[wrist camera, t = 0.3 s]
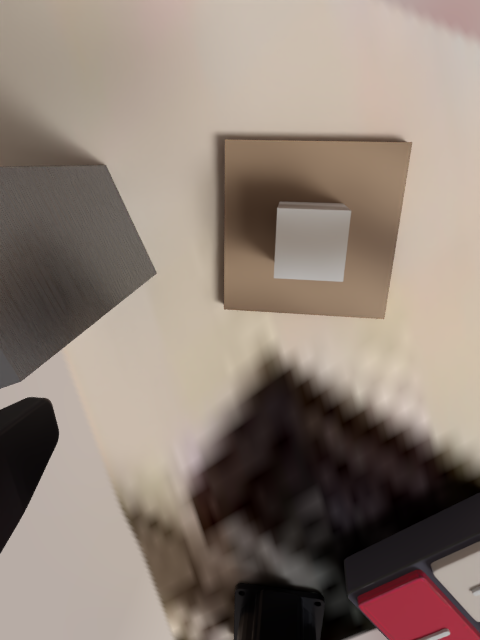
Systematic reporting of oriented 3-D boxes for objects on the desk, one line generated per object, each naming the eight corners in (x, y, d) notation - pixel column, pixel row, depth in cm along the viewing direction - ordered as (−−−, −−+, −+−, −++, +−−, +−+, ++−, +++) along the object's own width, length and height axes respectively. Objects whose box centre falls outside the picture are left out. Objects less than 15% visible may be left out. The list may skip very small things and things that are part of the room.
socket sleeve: (156, 273, 22) (20, 381, 11) (67, 307, 24) (-130, 433, 13) (105, 165, 21) (-114, 168, 10) (13, 209, 22) (-269, 256, 11)
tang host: (379, 311, 22) (397, 342, 18) (227, 302, 23) (213, 330, 19) (405, 143, 19) (433, 138, 15) (228, 140, 20) (212, 136, 16)
